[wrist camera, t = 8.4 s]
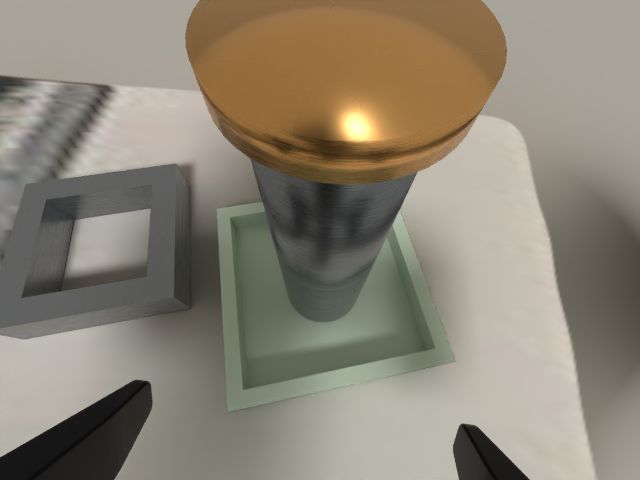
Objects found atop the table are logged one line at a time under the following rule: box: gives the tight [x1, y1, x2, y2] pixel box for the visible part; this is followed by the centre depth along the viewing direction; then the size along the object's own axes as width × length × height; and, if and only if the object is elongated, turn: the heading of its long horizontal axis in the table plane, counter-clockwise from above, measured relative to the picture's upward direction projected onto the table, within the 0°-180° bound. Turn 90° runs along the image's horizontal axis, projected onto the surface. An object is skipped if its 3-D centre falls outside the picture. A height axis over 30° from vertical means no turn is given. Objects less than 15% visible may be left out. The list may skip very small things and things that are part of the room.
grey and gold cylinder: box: [186, 0, 507, 322], centre depth 12 cm, size 6×6×15 cm
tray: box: [217, 202, 456, 412], centre depth 18 cm, size 12×12×2 cm
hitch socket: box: [0, 164, 191, 339], centre depth 19 cm, size 10×10×2 cm
